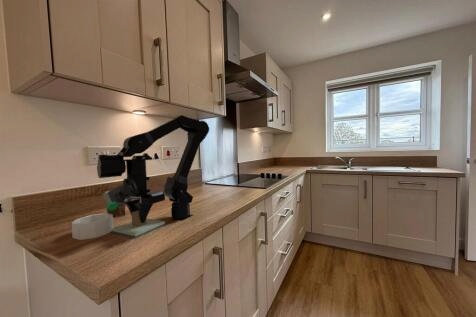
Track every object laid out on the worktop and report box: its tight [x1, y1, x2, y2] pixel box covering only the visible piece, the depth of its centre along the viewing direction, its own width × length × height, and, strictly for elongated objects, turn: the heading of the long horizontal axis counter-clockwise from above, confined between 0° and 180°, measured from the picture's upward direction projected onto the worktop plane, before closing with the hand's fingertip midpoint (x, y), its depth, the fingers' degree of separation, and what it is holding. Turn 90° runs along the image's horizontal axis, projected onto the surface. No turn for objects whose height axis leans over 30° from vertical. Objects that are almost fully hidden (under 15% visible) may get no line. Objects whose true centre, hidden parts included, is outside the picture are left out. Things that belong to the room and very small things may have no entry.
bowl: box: [71, 212, 114, 241], centre depth 63 cm, size 10×10×5 cm
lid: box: [111, 210, 166, 237], centre depth 65 cm, size 11×11×5 cm
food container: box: [103, 189, 126, 219], centre depth 81 cm, size 12×6×10 cm, turn 45°
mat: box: [110, 223, 168, 239], centre depth 65 cm, size 12×12×1 cm
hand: (139, 222), depth 65 cm, fingers closed on lid, 3 cm apart
